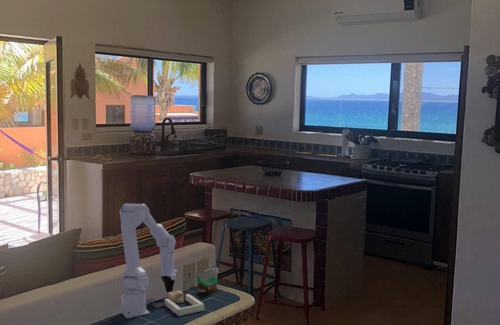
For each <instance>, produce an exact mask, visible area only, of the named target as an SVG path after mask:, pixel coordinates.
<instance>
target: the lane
mask: <svg viewBox="0 0 500 325" xmlns="http://www.w3.org/2000/svg"><path fill="white" fill-rule="evenodd" d="M163 300H164V301H163V303H165V305H166V306H165V307H166V308H168V309H169V310H170V309H171V310H170V311H171V312H173V313H174V314H175V313H176V314H175V315H177V316H178V317H181V316H186V315H189V314H190V315H191V314H195V313H198V312H203V311H205V303H203V302H202V301H200V299H196V298H194V297H193V296H191V294H190V293H186V294H185V300H186V302H188V303H189V304H191V305H188V306H183V307H180V306H179V305H178V304H175V303H173V302H172V301H171V300H169V299H168V298H164V299H163Z"/></svg>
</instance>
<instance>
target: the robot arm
mask: <svg viewBox="0 0 500 325" xmlns="http://www.w3.org/2000/svg"><path fill="white" fill-rule="evenodd" d="M119 216H120V217H119V218H120V231H121V238H122V245H123V251H124V258H125V266H126V269H125V270H124V271H123V272H122V273H121V276H122V279H121V286H122V289H124V291H125V293H122V294H121V295H120V301H121V302H120V303H121V304H120V305H121V315H123V316H124V317H125V318H126V319H131V318H135V317H140V316H143V315H144V316H145V315H149V314H151V312H150V311H149V310H148V309H147V298H146V291H147V290H148V287H149V285H150V280H149V277H148V275H147V271H146V270H145V269H144V268H143V267H142V265H141V261H140V253H139V245H138V238H137V237H138V236H137V231H136V229H137V227H139V226H141V224H142V223H143V224H145V226H146V227H147V228H148V229H149V233H150V235H151V236H152V237H153V238H154V239H155V241H156V242H155V243H156V246H157V247H159V254H160V255H159V256H160V267H161V268H160V275H161V277H160V279H161V280H162V282H163V284H164V288H165V292H166V293H167V294H168V292H172V291H174V284H175V281H176V280H177V274H176V273H178V270H177V269H176V268H175V254H174V251H175V247H176V244H177V242H176V241H177V240H176V238H175V236H174V235H173V234H170V233H169V232H168V231H167V230H166V228H164V226H163V224H162V223H157V222H156V220H155V219H154V218H153V216H152V214H151V213H150V208H149V207H148V205H147V204H145V203H127V202H126V203H123V205H121V208H120V209H119Z"/></svg>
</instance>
